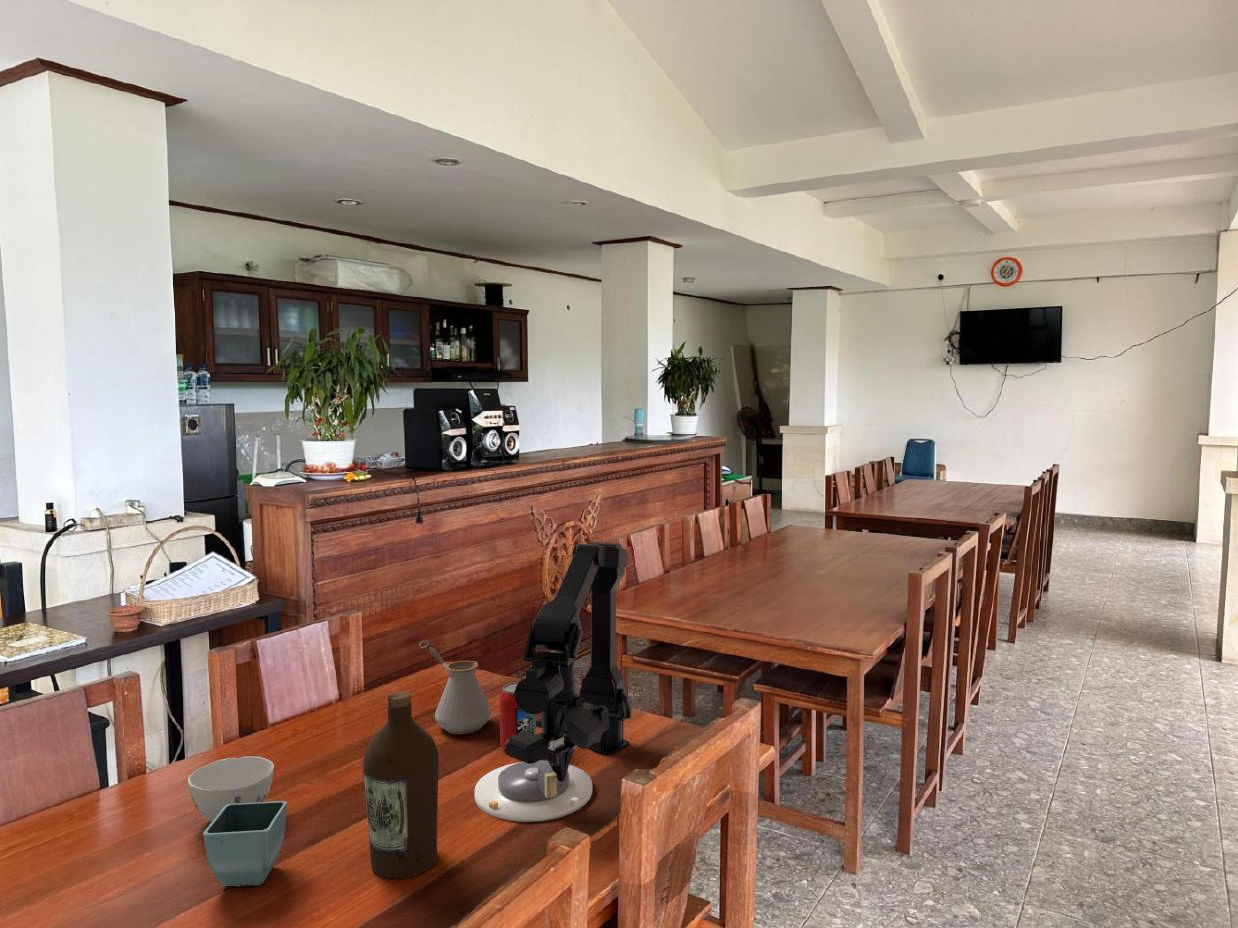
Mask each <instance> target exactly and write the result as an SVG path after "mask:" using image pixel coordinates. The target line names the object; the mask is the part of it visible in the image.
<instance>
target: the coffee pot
mask: <svg viewBox="0 0 1238 928" xmlns="http://www.w3.org/2000/svg"><path fill="white" fill-rule="evenodd" d="M422 643H423V645H424V646H421V644H422ZM432 645H433V644H430V642H429V641H428V640H426V639H423V640H422V641H421V642H420V643H419V645H418V647H419V648H420V649H425V648H426V650H428V651H429V652H430V654H431V656H432V657H433V658H434V659H435V660H436V661H437V662H438V663H439V664H440V665H441V666H442V667H443V668H444V670H445V671H446V672H447V673H448V674H449V677H448V680H447V682H446V685H445V687H444V690H443V692H442V695H441V698H440V699H439V702H438V705H437V707H436V709H435V713H434V719H435V721H436V724H437V725H439V726H440V728H442V729H444V731H445V732H447V733H449V734H453V735H466V734H468V735H469V734H472V733H475V732H478V731H479V730H481V729H482V728H483V726H485V725H486V724H487V722H489V720H490V718H491V715H492V710H493V709H492V708H491V706H490V703H489V701H488V699H487V697H486V695H485V692H484V691H483V688H482V686H481V685H480V683H479V680H478V678H477V676H476V670H477V668H478V667H479V663H478V661H474V660H458V661H453V662H452V661H451V662H450V663H448V664H447V663H446V662H445V660H444V659H443V658H442V656H441V655H440V653H439V652H438V650H436V649H435V648H434V647H433V646H432Z"/></svg>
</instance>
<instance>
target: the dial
mask: <svg viewBox="0 0 1238 928" xmlns="http://www.w3.org/2000/svg"><path fill="white" fill-rule="evenodd" d="M520 762H521V763H519V762H516V763H517V764H514V763H513V764H514V765H511V766H509V767H507V768H506V769H504V770H503V771H502V772H501V773H500V774H499V777H498V789H499V791H500V793H501V794H502V795H504V796H505V797H507V798H510V799H513V800H517V801H524V802H535V801H543V800H548V799H551V798H554V797H556V796H559V795H560V794H562V793H563V792H565V791H566V790H567V788H568V786H569V773H568V771H567V774H566V777H565V780H564V781H563V782H561V781H559V780H558V779H557V774H556V773H555V772H553V770H552V768H551V766H550V764H549V762H548V761H547V760H539V761H537V762H536V763H534V764H528V763H525V762H523V761H520Z"/></svg>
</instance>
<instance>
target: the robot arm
mask: <svg viewBox="0 0 1238 928" xmlns="http://www.w3.org/2000/svg"><path fill="white" fill-rule="evenodd" d="M628 557H629V555H628V551H627V549H625V548H623V546H622V544H621V543H617V542H616V543H615V542H600V541H599V542H597V541H596V542H595V541H589V542H587V543H579V544H576V545H574V547H573V549H572V558H571V560H570V563H569V566H568V568H567V570H566V572H565V574H564V576H563V579H562V581H561V583H560V585H559V588H558V589H557V592H556V594H555V596H554V598H553V599H552V600H550V601H549V602H547V603H546V604H544V605H543V606H541V608H540V610H539V611H538V613H537V615H536V616H535V618H534V619H533V621H531V625H530V628H529V632H528V637H527V641H526V646H525V650H524V653H523V654H524V655H523V659H522V660H523V661H522V662H523V663H530V664H531V666H530V667H528V668H526V670H525V676H524V677H523V678H522V679H521V680H520V681H519V683H518V684H517V686H516V689H515V691H514V696H515V700H516V703H517V704H518V706H519V707H520V708H521V709H522V710H523V711H525V712H526V713H529V714H535V715H538V714H540V718H538V719H537V720H536V728H539V729H541V731H540V732H538V733H536V734H534V733H531V732H528V731H526V730H525V731H523V732H521V733H519V734H516V735H514V736H512V737H510V738H509V739H508V740H507V741H506V750H505V753H506V756H508V757H511V758H513V759H516V760H518V761H520V762H525V763H528V764H534V763H536V762H537V761H542V760H543V759H545V758H546V761H548V762H549V764H550V766H551V768H552V770H553V772H555V773H556V774H557V779H558V780H559V781H561V782H563V781H564V780H565V777H566V774H567V770H568V767H569V765H571V759H572V756H573V754H574V751H575V749H576V748H577V747H578V748H579V749H582V750H586V749H590V750H593V751H596V752H598V753H602V754H604V755H607V756H609V755H610V756H611V755H612V754H614V753H616V752H618V751H620V750H622V749H623V748H625V747H627V746H630V745H631V744H630V743H631V741H630V740H626V739H624V722H625V721H626V720H627V719H631V718H632V709H633V707H632V706H633V705H632V704H633V703H632V699H631V698H630V696H629V693H628V692H627V690H626V688H625V677H624V675H623V674H622V672H621V671H620V669H619V666H618V665H617V663H616V661H617V660H616V656H617V655H616V653H617V652H616V650H617V649H616V648H617V647H616V646H617V643H616V642H617V637H616V636H617V634H616V633H617V619H616V618H617V588H618V586H619V584H620V583H621V581H622V580H623V578H624V577H625V574H626V573H625V571H626V568H627V567H628V566H627V565H628V562H629V561H628V560H629V558H628ZM589 592H590V597H591V599H590V668H589V669H588V671H587V673H586V674H585V675H584V677H583V678H582V679H581V681H580V685H581V686H580V689H579V693H576V679H575V660H576V659H577V656H578V654H579V653H578V652H579V649H580V645H581V642H582V638H583V626H582V621H581V619H580V614H581V611H582V608H583V606H584V604H585V602H586V599H587V596H588V595H589ZM536 649H538V650H536ZM541 650H545V651H541ZM546 650H547V651H546Z"/></svg>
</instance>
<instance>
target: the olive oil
mask: <svg viewBox="0 0 1238 928" xmlns="http://www.w3.org/2000/svg"><path fill="white" fill-rule="evenodd" d="M411 697H412V696H411V692H407V691H396V692H392V693H390V694H389V695H387V702H388V704H387V705H386V706H387V708H386V709H387V710H386V711H387V722H386V723H385V724H384V725H383V726H382V728H381V729H380V730H378V732H377V733H376V734H375V735H374V737H372V739H371V740H370V741H369V743H368V745H367V747H366V749H365V752H364V757H363V760H362V776H363V783H364V792H365V804H366V814H367V827H368V841H369V857H370V866H371V870H372V872H373V873H374V874H376V875H377V876H380V877H382V878H386V879H391V880H393V879H397V880H398V879H407V878H411V877H415V876H418V875H420V874H423V873H424V872H426V871H428V870H429V869H430V868H431V867H432V866H433V865H434V864H435V862H436V861H437V859H438V802H439V801H438V798H439V769H440V768H439V765H440V761H439V759H440V757H439V751H438V747H437V744H436V742H435V739H434V738H433V736H432V735H431V734H430V733H429V732H428V731H427V730H426V729H424V727H422V726H421V725H419V723H417V721H415V719H413V717H412V712H413V711H412V709H413V707H412V705H413V704H412V702H411Z"/></svg>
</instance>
